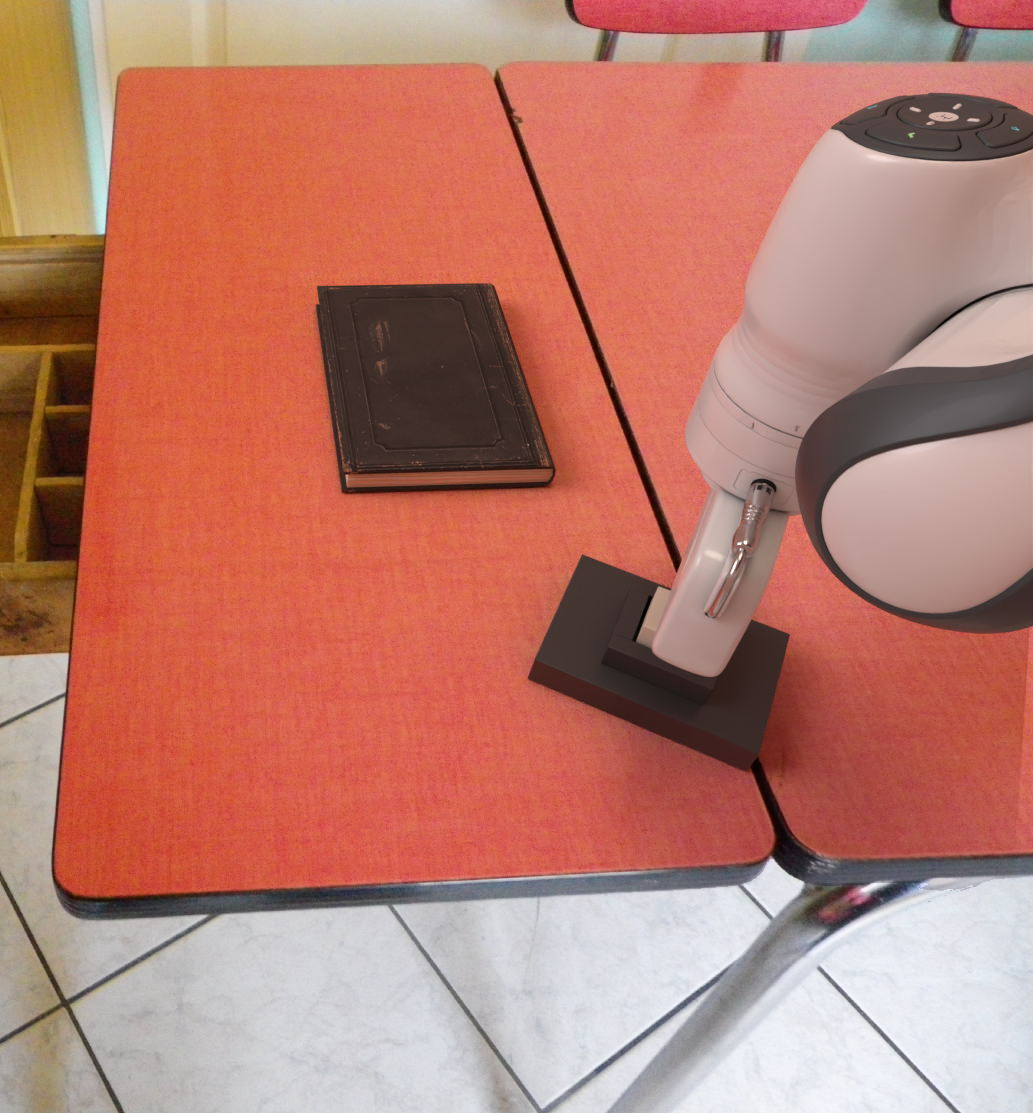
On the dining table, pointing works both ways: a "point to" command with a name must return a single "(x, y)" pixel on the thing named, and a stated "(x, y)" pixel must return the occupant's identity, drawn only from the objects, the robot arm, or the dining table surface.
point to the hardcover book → (427, 390)
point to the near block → (656, 668)
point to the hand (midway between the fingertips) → (696, 597)
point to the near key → (652, 617)
